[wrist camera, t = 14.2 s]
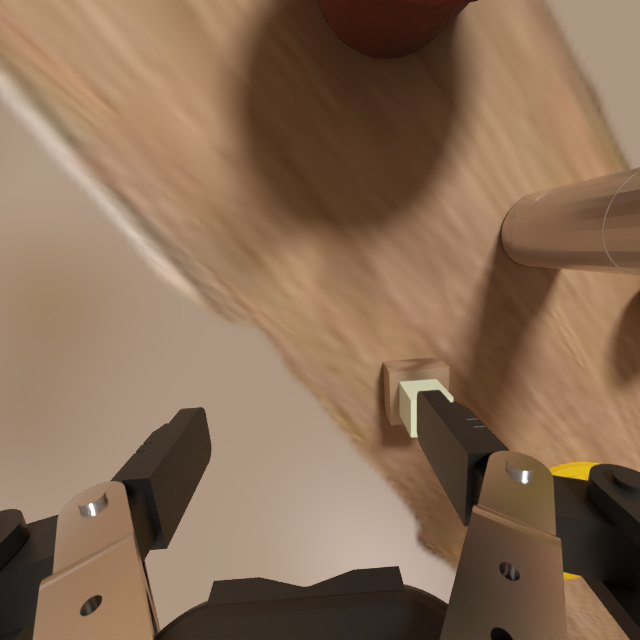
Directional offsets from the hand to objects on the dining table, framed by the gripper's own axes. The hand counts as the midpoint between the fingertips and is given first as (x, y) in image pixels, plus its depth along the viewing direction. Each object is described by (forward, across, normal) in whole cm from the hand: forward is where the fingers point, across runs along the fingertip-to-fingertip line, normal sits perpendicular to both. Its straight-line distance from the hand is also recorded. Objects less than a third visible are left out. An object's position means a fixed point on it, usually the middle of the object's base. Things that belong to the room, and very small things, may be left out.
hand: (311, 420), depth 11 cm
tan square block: (+30, -14, +14) cm, 36 cm away
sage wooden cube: (+26, -13, +14) cm, 33 cm away
